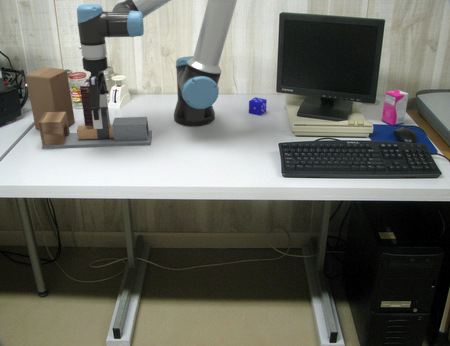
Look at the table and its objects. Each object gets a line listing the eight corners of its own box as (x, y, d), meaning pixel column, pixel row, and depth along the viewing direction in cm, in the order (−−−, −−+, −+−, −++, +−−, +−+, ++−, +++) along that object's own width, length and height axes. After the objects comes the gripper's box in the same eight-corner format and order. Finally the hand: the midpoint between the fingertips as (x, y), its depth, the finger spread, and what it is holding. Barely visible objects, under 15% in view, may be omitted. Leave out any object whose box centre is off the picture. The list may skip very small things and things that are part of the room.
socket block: (69, 133, 172) (66, 111, 168) (64, 144, 164) (60, 121, 160) (49, 134, 171) (45, 112, 167) (42, 145, 163) (38, 122, 160)
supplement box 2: (392, 118, 186) (397, 88, 180) (404, 123, 181) (409, 93, 176) (380, 120, 184) (385, 91, 178) (391, 126, 179) (397, 96, 174)
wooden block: (75, 122, 183) (67, 69, 173) (59, 133, 174) (49, 77, 165) (52, 119, 186) (43, 66, 176) (35, 129, 177) (24, 74, 168)
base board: (152, 133, 174) (151, 130, 174) (150, 145, 166) (150, 142, 165) (49, 136, 172) (49, 133, 172) (42, 148, 163) (42, 145, 163)
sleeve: (148, 132, 172) (147, 116, 170) (147, 140, 166) (146, 124, 164) (116, 133, 172) (114, 117, 169) (114, 141, 166) (112, 125, 163)
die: (248, 113, 191) (248, 100, 188) (254, 109, 195) (255, 97, 192) (260, 115, 188) (260, 103, 186) (266, 111, 192) (266, 99, 190)
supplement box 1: (98, 129, 177) (92, 86, 170) (85, 129, 177) (78, 86, 170) (104, 120, 185) (99, 78, 177) (91, 120, 185) (86, 78, 177)
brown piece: (145, 133, 171) (143, 105, 166) (144, 137, 168) (142, 109, 163) (80, 135, 169) (75, 107, 165) (78, 139, 166) (73, 111, 162)
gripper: (88, 46, 166) (95, 107, 176) (74, 68, 144) (83, 135, 154) (111, 46, 167) (117, 106, 177) (100, 68, 145) (107, 135, 155)
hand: (101, 120), depth 165 cm, fingers open, 13 cm apart
